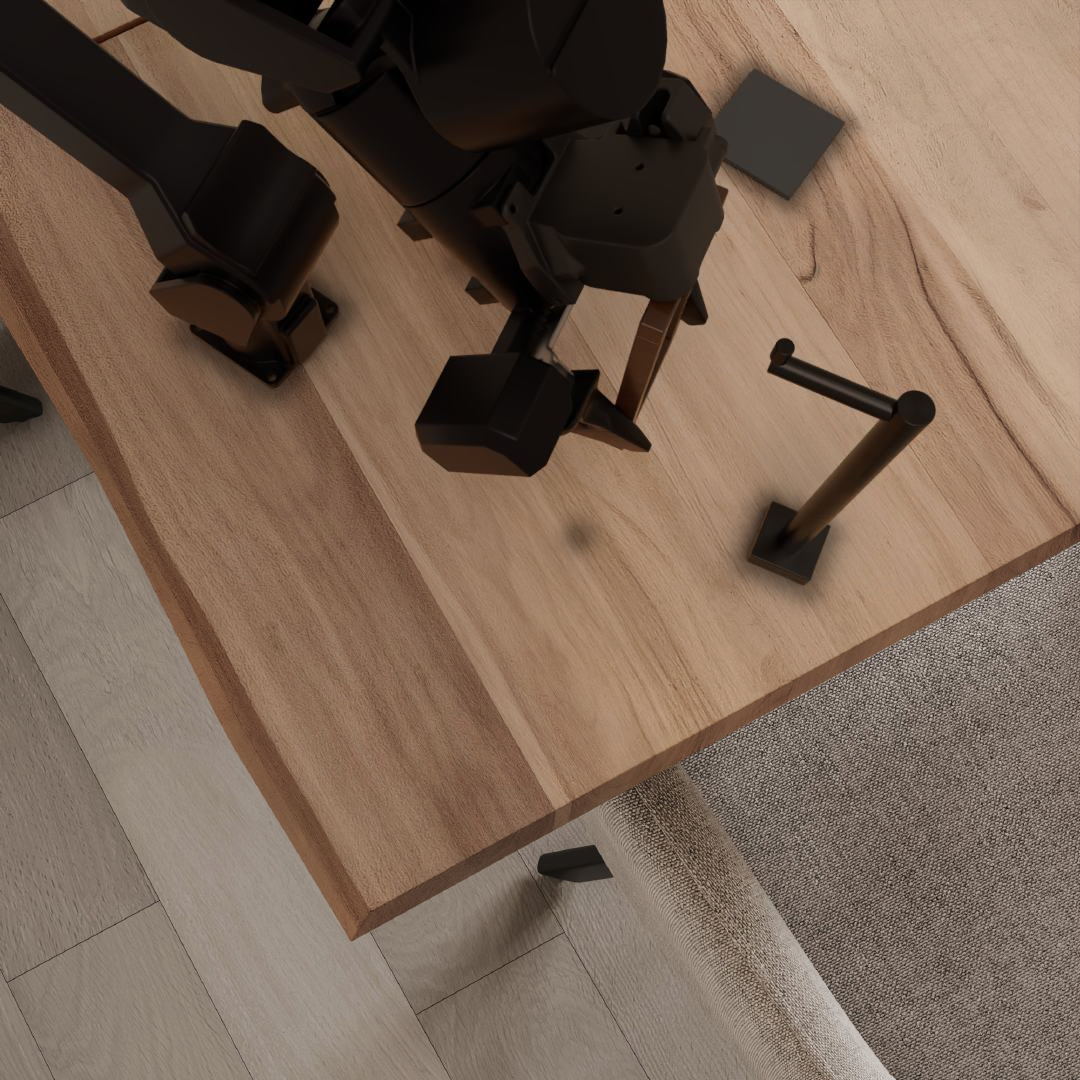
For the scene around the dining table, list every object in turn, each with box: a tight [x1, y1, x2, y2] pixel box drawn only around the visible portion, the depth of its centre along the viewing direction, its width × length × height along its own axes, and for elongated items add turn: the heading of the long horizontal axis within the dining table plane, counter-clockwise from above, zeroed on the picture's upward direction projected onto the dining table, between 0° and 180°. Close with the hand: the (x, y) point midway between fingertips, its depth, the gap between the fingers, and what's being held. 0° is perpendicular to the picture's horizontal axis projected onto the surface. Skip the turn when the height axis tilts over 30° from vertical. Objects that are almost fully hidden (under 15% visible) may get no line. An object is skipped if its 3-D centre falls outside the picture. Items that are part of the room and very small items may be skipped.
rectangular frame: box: [605, 183, 729, 451], centre depth 46 cm, size 1×7×13 cm, turn 156°
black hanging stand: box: [746, 337, 937, 586], centre depth 53 cm, size 8×4×20 cm, turn 66°
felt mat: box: [713, 68, 846, 201], centre depth 71 cm, size 7×7×1 cm
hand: (671, 385), depth 51 cm, fingers closed on rectangular frame, 7 cm apart
